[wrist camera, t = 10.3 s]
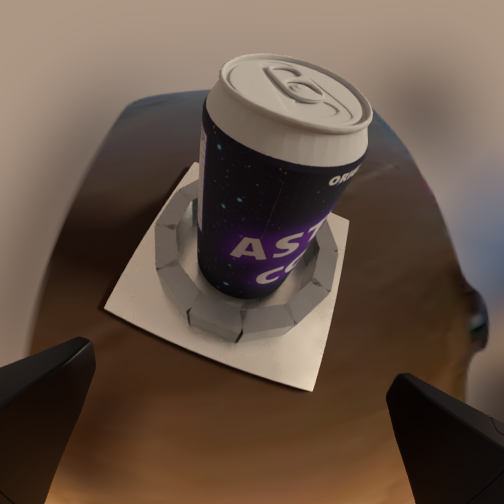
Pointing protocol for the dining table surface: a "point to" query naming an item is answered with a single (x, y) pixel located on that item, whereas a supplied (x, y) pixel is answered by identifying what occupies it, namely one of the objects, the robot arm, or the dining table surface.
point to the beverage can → (272, 167)
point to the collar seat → (231, 298)
